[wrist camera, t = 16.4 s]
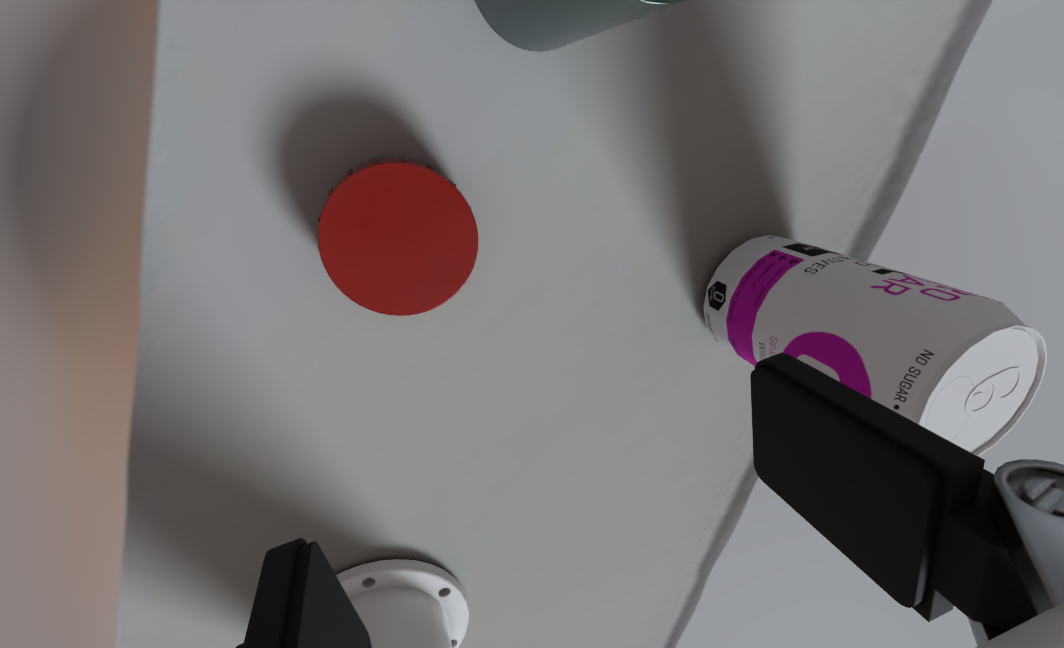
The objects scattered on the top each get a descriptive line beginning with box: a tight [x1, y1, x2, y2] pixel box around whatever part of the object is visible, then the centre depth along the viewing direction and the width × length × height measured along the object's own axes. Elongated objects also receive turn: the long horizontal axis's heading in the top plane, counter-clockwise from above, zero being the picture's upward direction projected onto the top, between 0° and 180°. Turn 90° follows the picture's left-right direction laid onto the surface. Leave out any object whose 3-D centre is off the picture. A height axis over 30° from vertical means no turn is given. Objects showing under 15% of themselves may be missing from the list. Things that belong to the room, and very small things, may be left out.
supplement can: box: [703, 235, 1047, 456], centre depth 28 cm, size 8×8×15 cm
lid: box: [318, 157, 478, 316], centre depth 25 cm, size 8×8×3 cm
